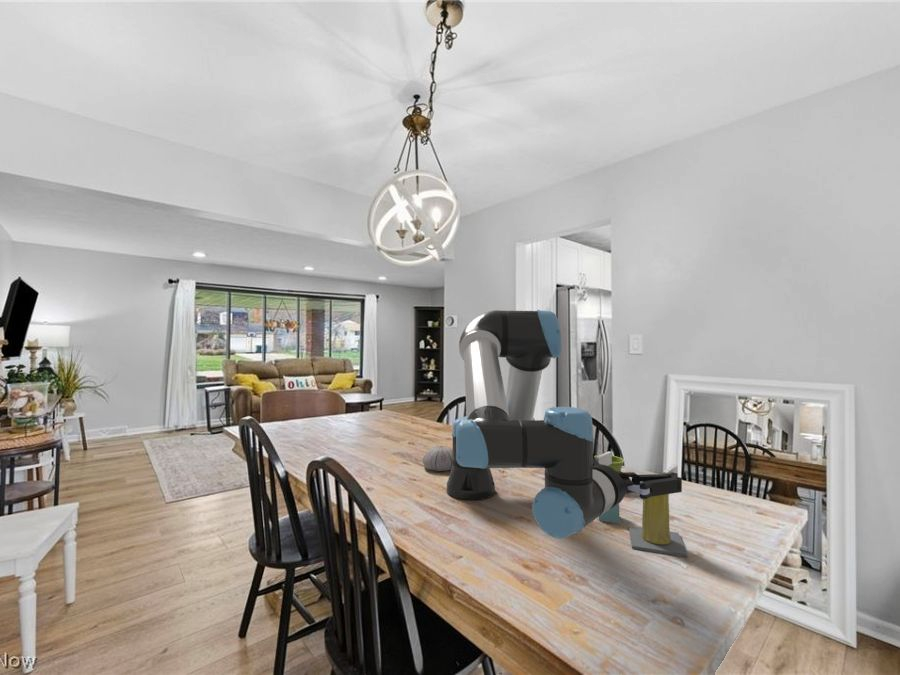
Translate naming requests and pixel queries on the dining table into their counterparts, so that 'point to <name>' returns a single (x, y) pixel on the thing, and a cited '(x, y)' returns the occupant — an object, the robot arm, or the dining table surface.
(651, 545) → the slate mat
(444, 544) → the dining table surface
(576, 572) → the dining table surface
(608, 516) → the letter cube
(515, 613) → the dining table surface
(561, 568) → the dining table surface
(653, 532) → the vase
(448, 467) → the sea urchin shell
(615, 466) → the plant pot
